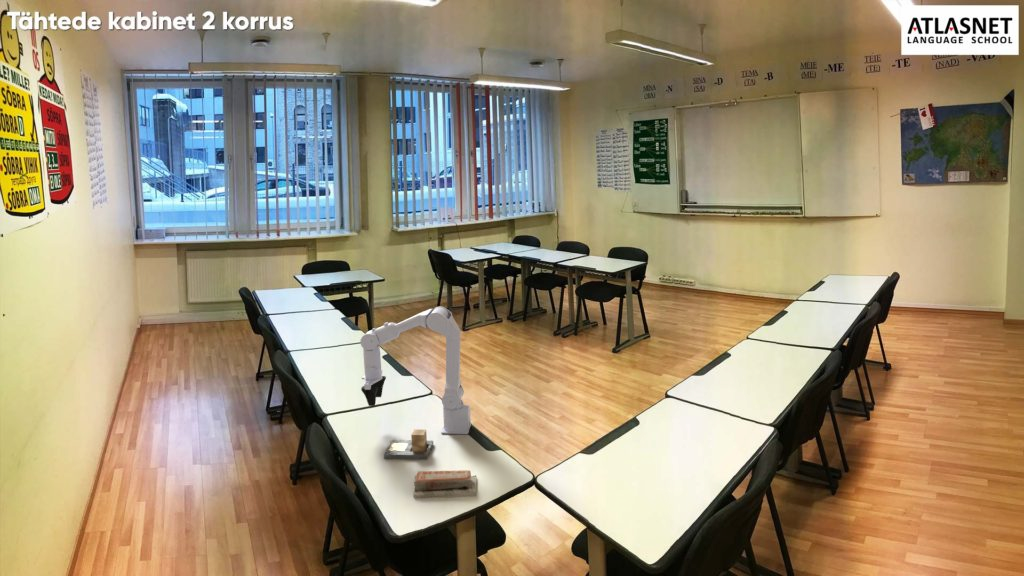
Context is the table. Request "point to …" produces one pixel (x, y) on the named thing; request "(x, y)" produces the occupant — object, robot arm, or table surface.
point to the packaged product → (444, 484)
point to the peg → (419, 440)
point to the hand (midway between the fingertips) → (375, 401)
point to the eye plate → (406, 450)
